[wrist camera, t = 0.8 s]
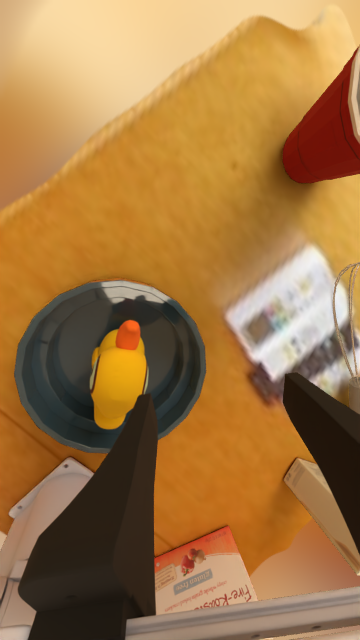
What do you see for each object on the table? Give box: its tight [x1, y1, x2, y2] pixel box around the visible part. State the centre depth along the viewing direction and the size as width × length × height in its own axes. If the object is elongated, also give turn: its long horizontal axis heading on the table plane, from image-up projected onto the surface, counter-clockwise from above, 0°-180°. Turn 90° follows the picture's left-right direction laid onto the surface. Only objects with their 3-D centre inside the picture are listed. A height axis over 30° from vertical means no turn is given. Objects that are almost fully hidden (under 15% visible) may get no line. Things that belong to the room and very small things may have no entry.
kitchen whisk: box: [333, 262, 360, 414], centre depth 33 cm, size 6×34×6 cm, turn 14°
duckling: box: [90, 320, 149, 429], centre depth 22 cm, size 11×5×10 cm, turn 166°
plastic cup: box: [283, 45, 360, 183], centre depth 22 cm, size 11×11×12 cm
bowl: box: [14, 278, 206, 453], centre depth 25 cm, size 17×17×5 cm
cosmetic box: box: [284, 458, 360, 576], centre depth 32 cm, size 6×4×12 cm
